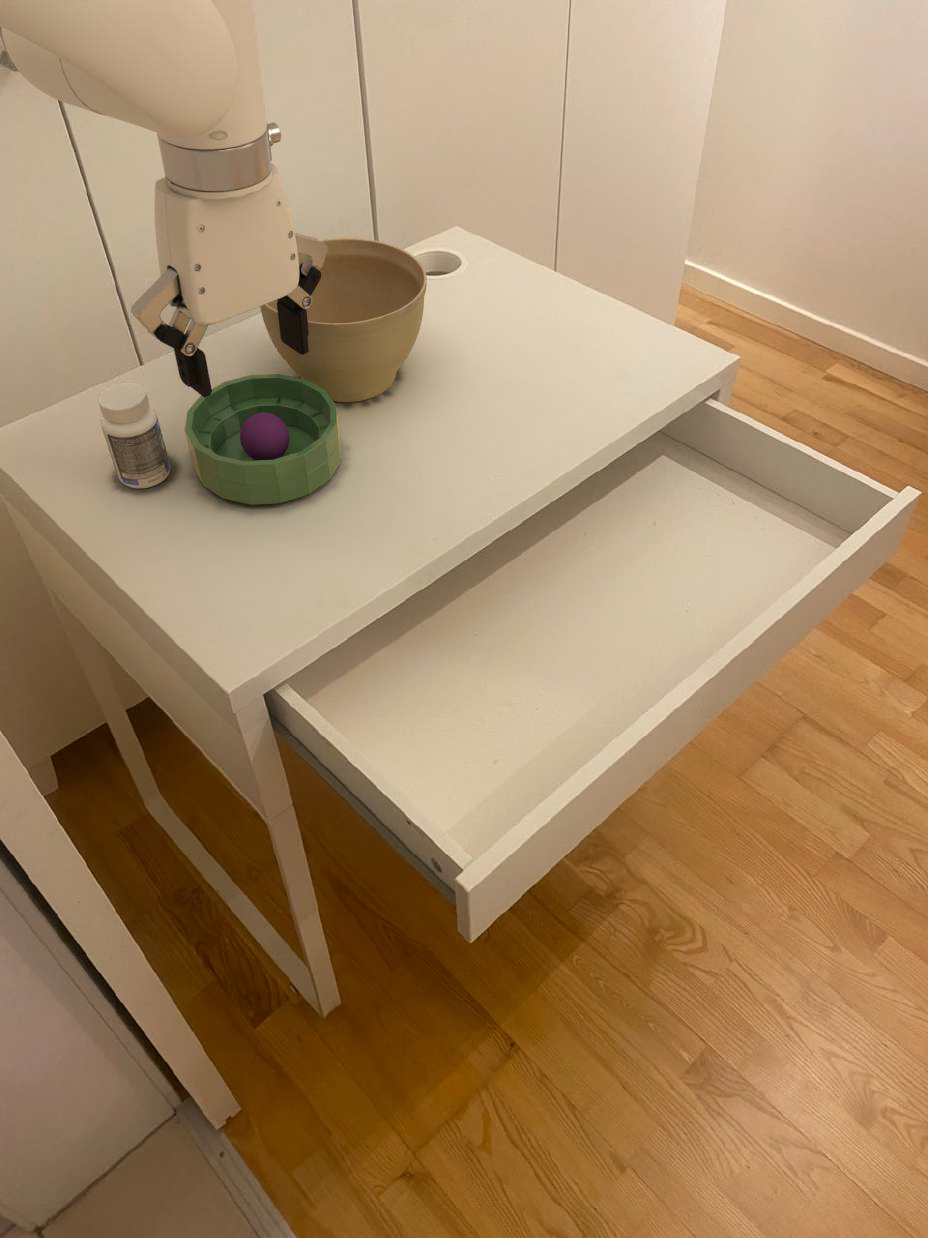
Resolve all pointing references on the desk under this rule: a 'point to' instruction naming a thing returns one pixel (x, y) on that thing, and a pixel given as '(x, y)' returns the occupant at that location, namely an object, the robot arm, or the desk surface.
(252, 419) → the ball
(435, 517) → the desk surface
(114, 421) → the pill bottle
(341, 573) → the desk surface
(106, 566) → the desk surface
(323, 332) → the planter bowl
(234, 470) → the bowl
